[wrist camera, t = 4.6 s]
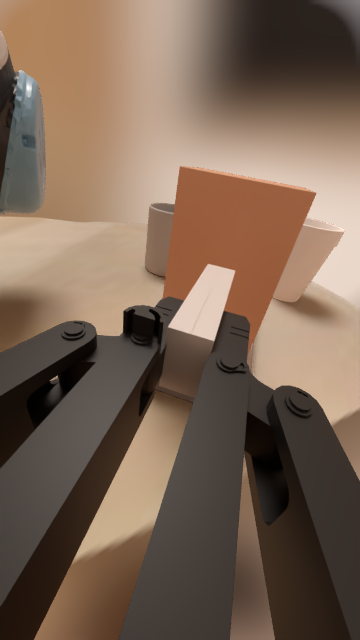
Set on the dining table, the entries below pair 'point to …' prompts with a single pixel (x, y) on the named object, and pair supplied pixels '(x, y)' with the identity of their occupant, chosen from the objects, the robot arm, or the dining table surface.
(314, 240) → the foam cup
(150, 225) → the mug
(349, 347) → the dining table surface
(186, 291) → the large orange block
